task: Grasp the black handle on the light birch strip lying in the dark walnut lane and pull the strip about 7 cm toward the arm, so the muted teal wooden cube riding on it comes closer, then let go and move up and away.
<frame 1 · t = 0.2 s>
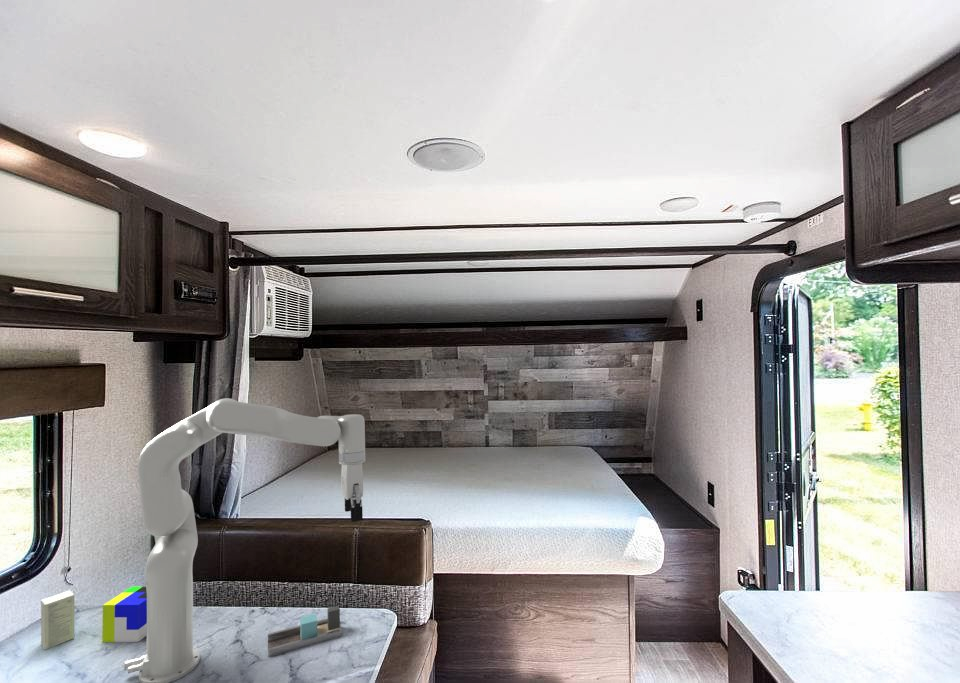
hand: (353, 515, 132), 30 cm above the table, tool pointing down, fingers open, 9 cm apart
puzzle toy: (134, 632, 128), on the table
cube: (308, 633, 122), point 2 cm above the table, touching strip
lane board: (304, 641, 122), on the table
skincare box: (57, 642, 124), on the table
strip: (320, 622, 124), point 4 cm above the table, slide at 0.0 cm, touching cube
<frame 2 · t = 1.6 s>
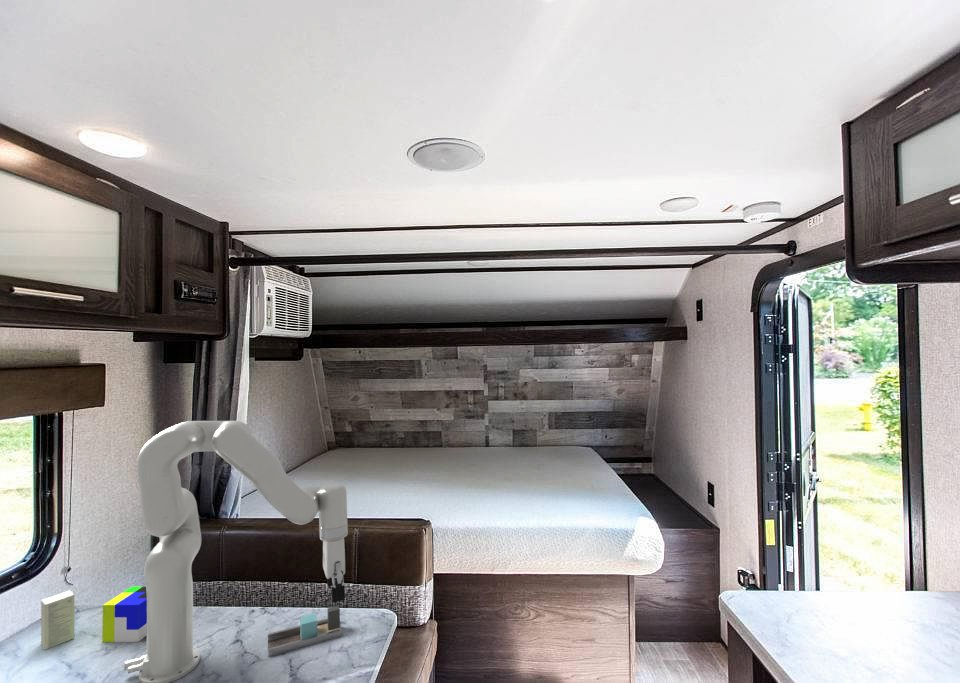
hand: (335, 592, 126), 11 cm above the table, tool pointing down, fingers open, 9 cm apart
nothing on the table moved.
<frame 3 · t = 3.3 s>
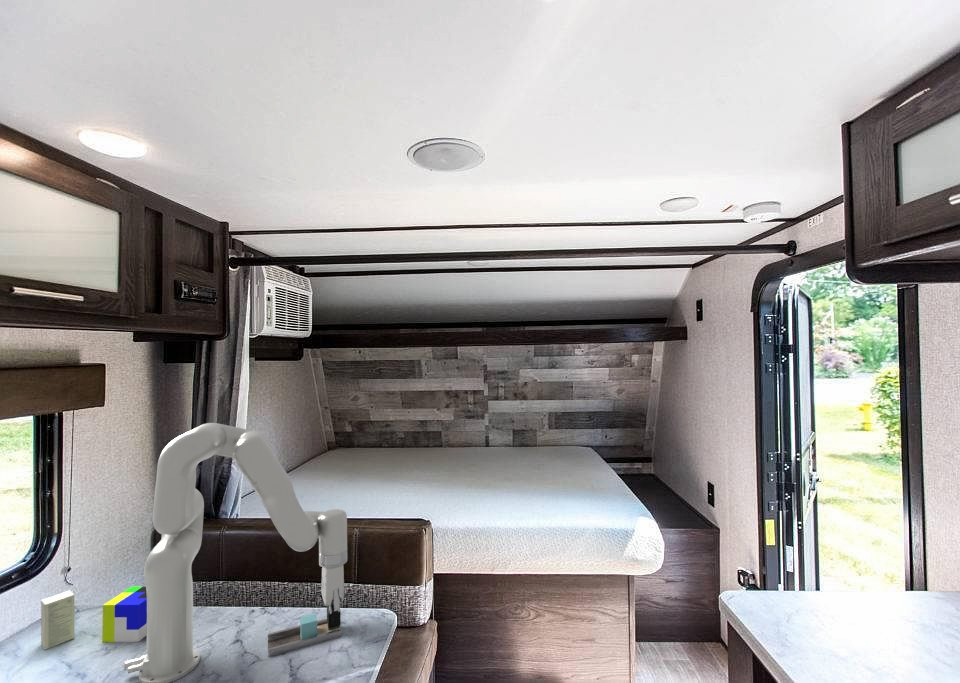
hand: (333, 623, 125), 3 cm above the table, tool pointing down, fingers closed on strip, 2 cm apart
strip: (320, 622, 124), point 4 cm above the table, slide at 0.0 cm, touching cube, gripper
everything else where it was.
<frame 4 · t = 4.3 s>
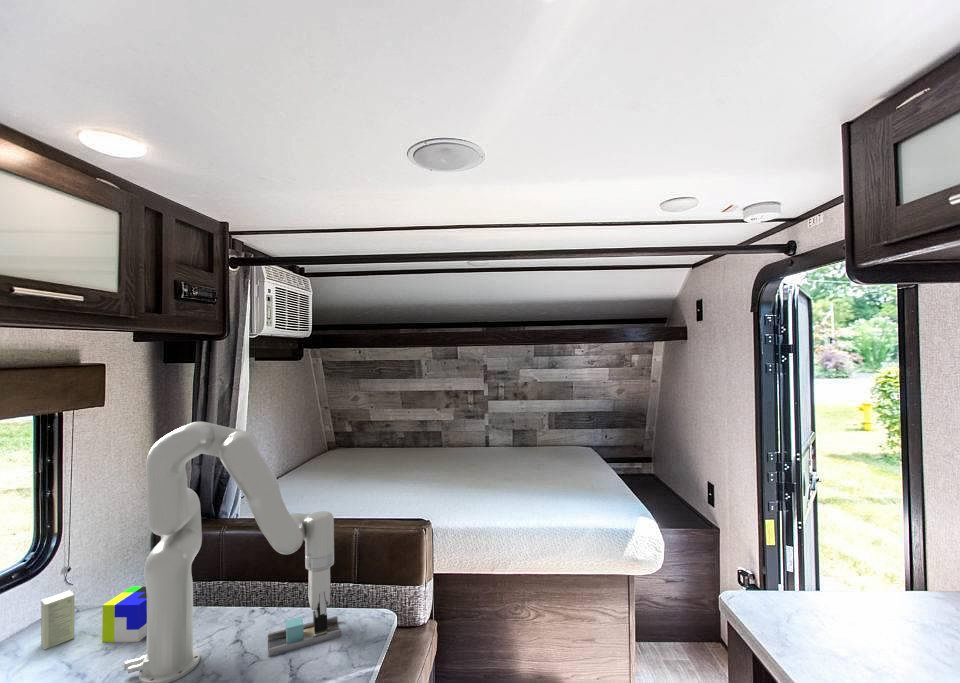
hand: (320, 627, 124), 3 cm above the table, tool pointing down, fingers closed on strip, 2 cm apart
cube: (294, 637, 121), point 2 cm above the table, touching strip
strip: (306, 626, 122), point 4 cm above the table, slide at 3.5 cm, touching cube, gripper
everything else where it was.
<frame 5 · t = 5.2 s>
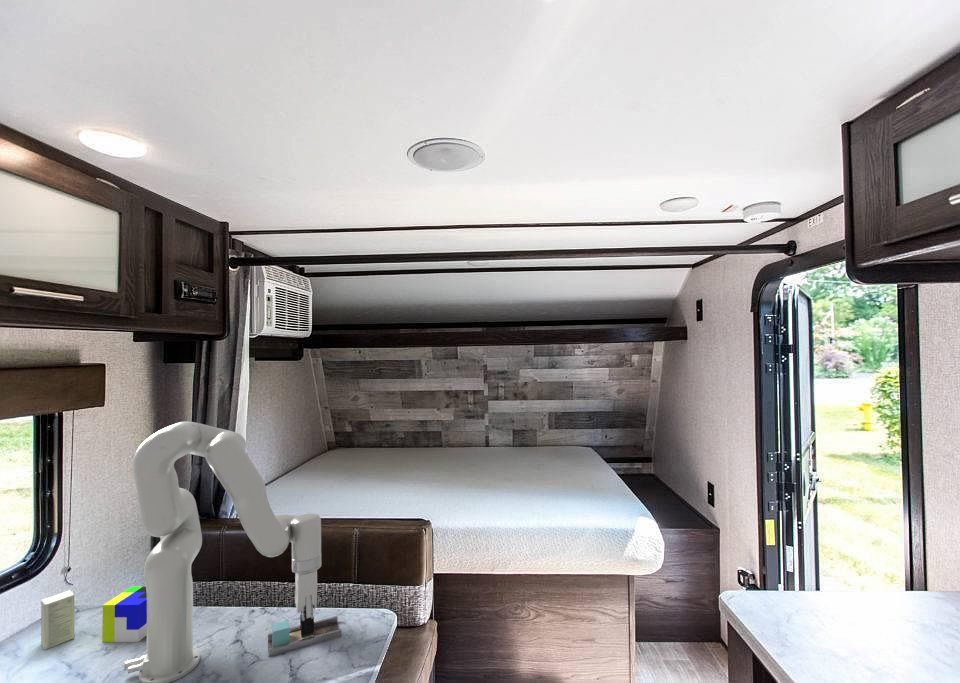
hand: (307, 630, 122), 3 cm above the table, tool pointing down, fingers closed on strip, 2 cm apart
cube: (280, 641, 119), point 2 cm above the table, touching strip
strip: (293, 629, 121), point 4 cm above the table, slide at 6.9 cm, touching cube, gripper
everything else where it was.
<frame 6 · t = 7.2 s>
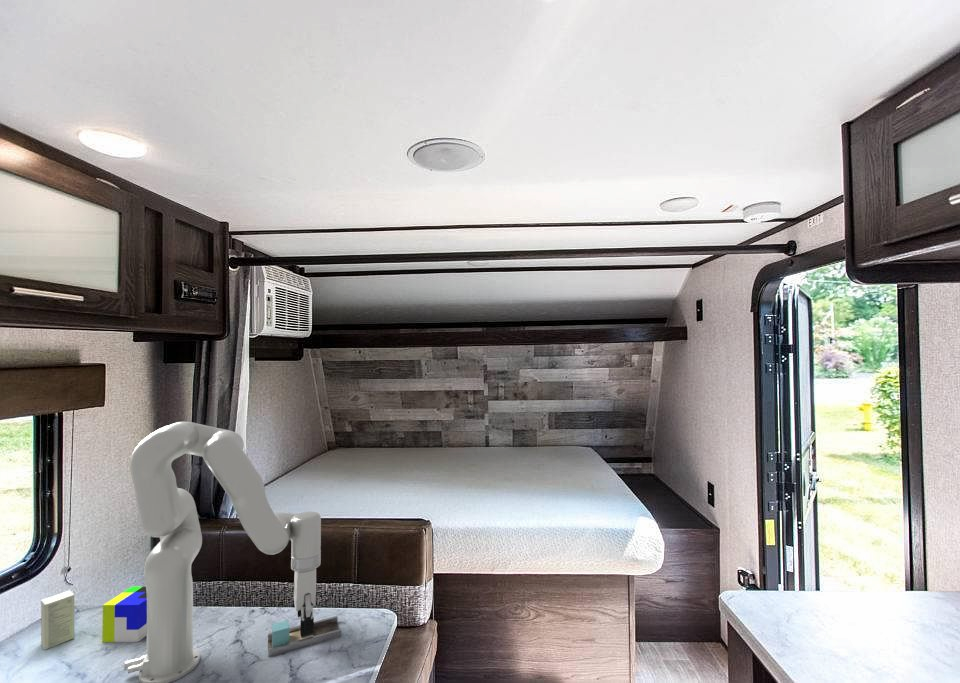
hand: (305, 624, 122), 4 cm above the table, tool pointing down, fingers open, 9 cm apart
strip: (292, 630, 121), point 4 cm above the table, slide at 7.0 cm, touching cube
everything else where it was.
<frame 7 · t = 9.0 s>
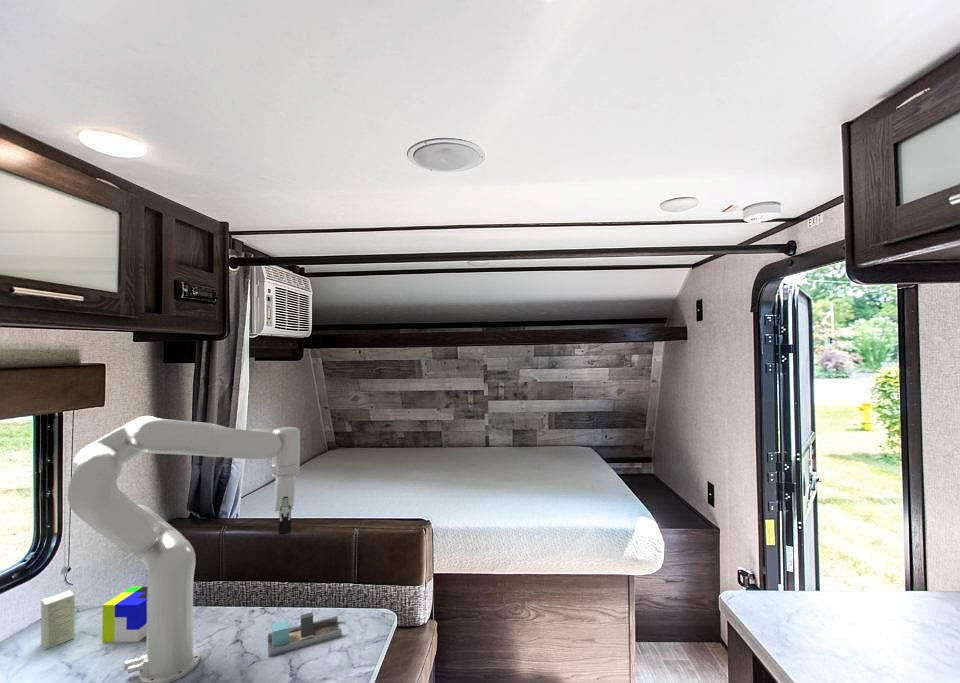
hand: (285, 528, 133), 27 cm above the table, tool pointing down, fingers open, 9 cm apart
nothing on the table moved.
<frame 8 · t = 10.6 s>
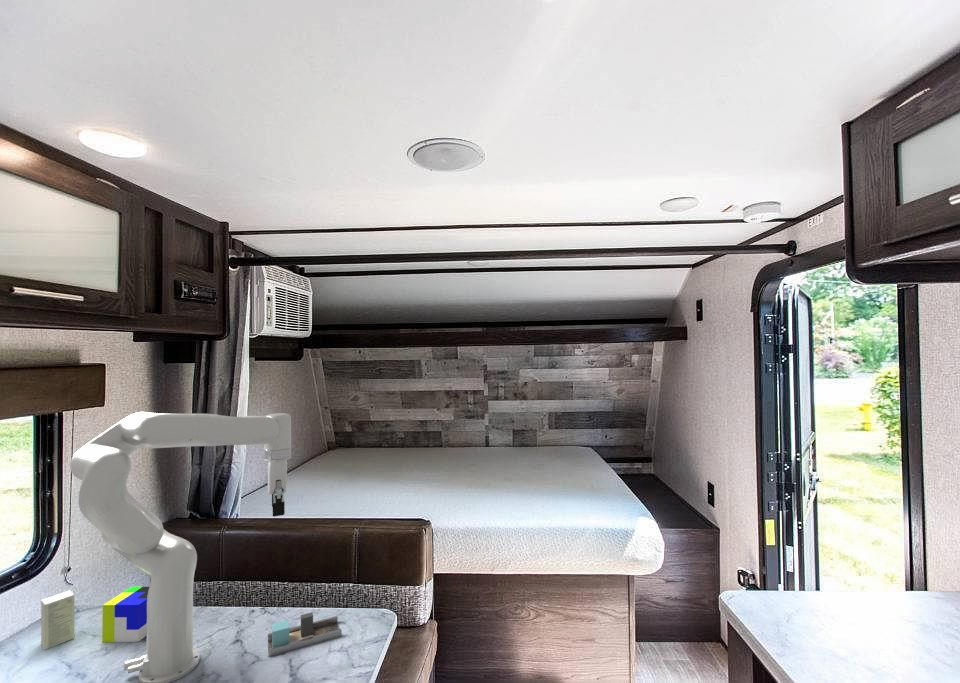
hand: (278, 510, 137), 30 cm above the table, tool pointing down, fingers open, 9 cm apart
nothing on the table moved.
at the end: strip slide at 7.0 cm; cube 0.2 cm from the target spot, point 1.6 cm above the table; cube tilted 0° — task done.
